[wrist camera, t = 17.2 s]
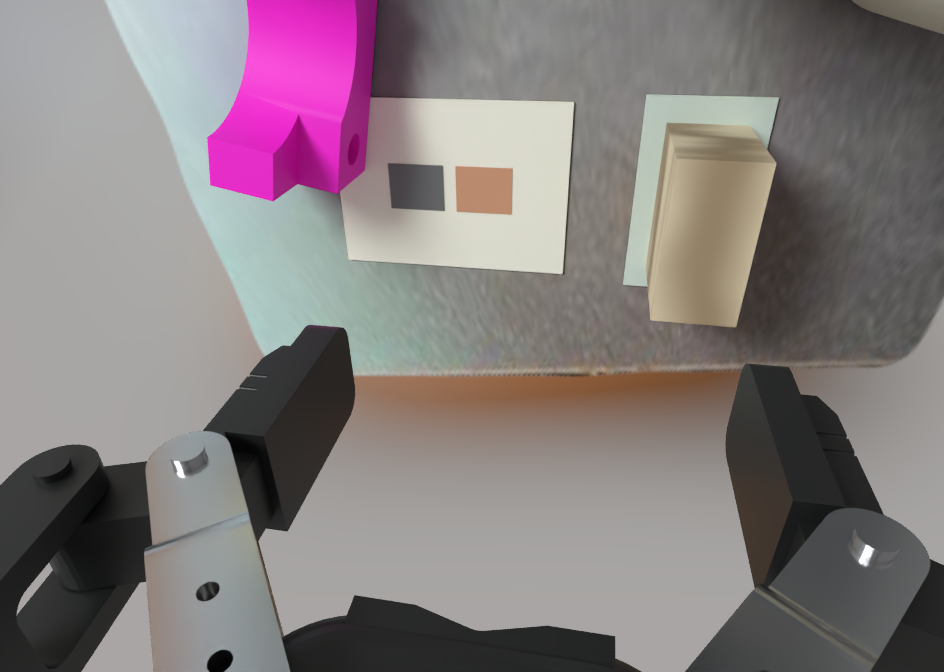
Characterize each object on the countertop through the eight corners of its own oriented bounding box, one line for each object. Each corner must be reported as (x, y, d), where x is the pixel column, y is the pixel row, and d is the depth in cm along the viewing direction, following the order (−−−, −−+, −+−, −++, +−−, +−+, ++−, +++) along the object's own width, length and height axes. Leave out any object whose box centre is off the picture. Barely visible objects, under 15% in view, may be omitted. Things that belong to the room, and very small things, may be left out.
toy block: (364, 170, 41) (315, 212, 35) (274, 148, 42) (210, 185, 36) (385, -109, 33) (326, -120, 27) (273, -133, 33) (189, -148, 27)
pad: (646, 94, 36) (646, 94, 36) (778, 97, 35) (779, 97, 35) (623, 284, 42) (623, 284, 42) (734, 291, 41) (734, 292, 41)
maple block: (645, 265, 41) (650, 320, 35) (666, 122, 36) (677, 158, 31) (718, 270, 40) (735, 327, 35) (749, 125, 36) (776, 163, 30)
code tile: (328, 96, 39) (327, 96, 39) (574, 101, 37) (573, 102, 37) (349, 258, 45) (348, 259, 45) (562, 273, 43) (562, 274, 43)
